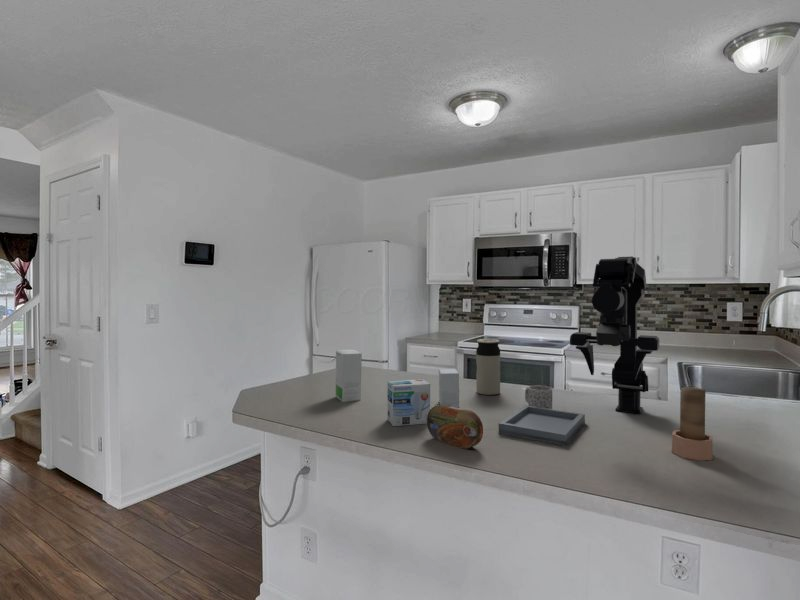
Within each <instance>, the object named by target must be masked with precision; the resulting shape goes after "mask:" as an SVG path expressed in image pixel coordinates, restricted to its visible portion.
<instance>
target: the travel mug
mask: <svg viewBox="0 0 800 600" xmlns="http://www.w3.org/2000/svg"><path fill="white" fill-rule="evenodd" d="M476 341H477V345H478V346H477V348H476V350H475V351H476V353H475V354H476V362H475V363H476V365H475V366H476V377H475V379H476V384H475V385H476V389H475V390H476V391H475V392H477V393H478V394H479V395H484V396H496V395H498V394H500V393H501V349H500V347H499V344H500V340H499V339H493V338H482V339H481V338H480V339H477V340H476Z"/></svg>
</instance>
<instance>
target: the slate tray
mask: <svg viewBox="0 0 800 600" xmlns="http://www.w3.org/2000/svg"><path fill="white" fill-rule="evenodd" d="M585 424H586V414H585V413H581V412H580V413H579V412H573V411H566V410H560V409H553V408H552V409H548V408H541V407H534V406H529V405H526V404H525V405H523V406H522V407H521V408H519V409H518V410H515V412H513V413H512V414H510V415H509V416H506V418H504V419H502V420H501V421H500V422H498V434H501V435H507V436H510V437H511V436H512V437H516V438H522V439H526V440H532V441H539V442H542V443H543V442H544V443H548V444H553V445H559V446H564V447H566V446H567V444H569V442H570V441H571V440H572V439H573V438H574V436H575V435H576V434H577V433H578V432H579V431H580V429H581V428H582V427H583V426H584V425H585Z"/></svg>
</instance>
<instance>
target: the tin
mask: <svg viewBox="0 0 800 600" xmlns="http://www.w3.org/2000/svg"><path fill="white" fill-rule="evenodd" d="M426 426H427V429H428V432H429V434H430V436H431V437H432V438H433V439H434V440H435V441H438V442H440V443H444V444H448V445H451V446H453V447H458V448H460V449H471V448H473V447H475V446H477V445H478V444H479V443H481V441H482V439H483V435H484V428H483V427H484V426H483V422H482V420H481V418H480V417H479V415H478V414H477V413H475V412H474V411H472V410H469V409H465V408H460V407H459V408H456V407H451V406H447V405H440V404H439V405H435V406H433V407H430V411H429V413H428V416H427V424H426Z"/></svg>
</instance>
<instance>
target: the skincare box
mask: <svg viewBox="0 0 800 600" xmlns="http://www.w3.org/2000/svg"><path fill="white" fill-rule="evenodd" d="M334 394H335V397H336V398H337V399H338V400H339V401H341V402H342V403H348V402H355V401H356V402H357V401H361V400H362V398H361V397H362V353H361V352H360V351H358V350H355V349H354V348H353V349H352V348H351V349H340V350H339V349H337V350H336V351H335V393H334Z"/></svg>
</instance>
